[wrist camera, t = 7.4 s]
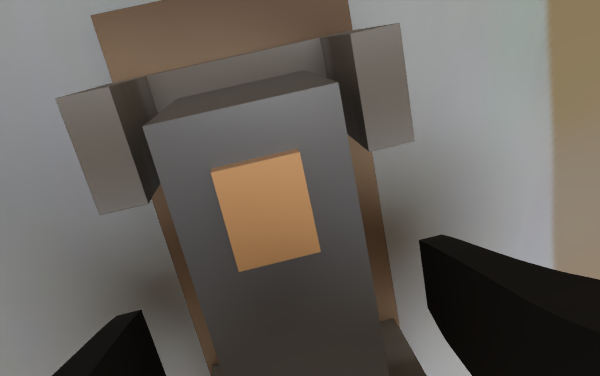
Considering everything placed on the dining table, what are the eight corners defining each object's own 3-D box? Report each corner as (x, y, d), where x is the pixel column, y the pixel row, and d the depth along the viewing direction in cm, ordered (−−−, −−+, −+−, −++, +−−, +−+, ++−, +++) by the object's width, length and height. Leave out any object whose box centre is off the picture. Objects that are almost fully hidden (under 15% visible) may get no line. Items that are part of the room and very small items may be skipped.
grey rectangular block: (370, 408, 16) (422, 552, 11) (275, 434, 16) (289, 591, 11) (304, 70, 12) (341, 83, 8) (177, 98, 12) (138, 129, 7)
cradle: (403, 387, 18) (466, 521, 13) (237, 432, 18) (236, 588, 13) (334, -32, 13) (394, -82, 8) (101, 17, 13) (7, -3, 8)
